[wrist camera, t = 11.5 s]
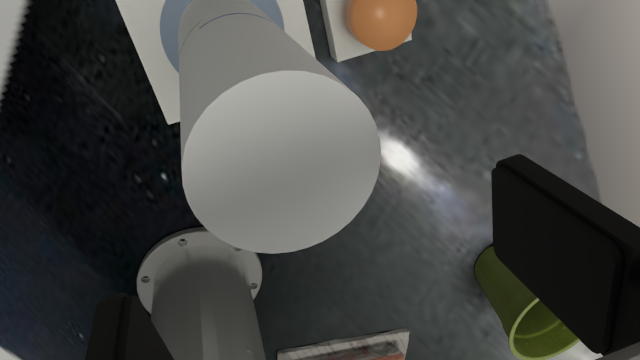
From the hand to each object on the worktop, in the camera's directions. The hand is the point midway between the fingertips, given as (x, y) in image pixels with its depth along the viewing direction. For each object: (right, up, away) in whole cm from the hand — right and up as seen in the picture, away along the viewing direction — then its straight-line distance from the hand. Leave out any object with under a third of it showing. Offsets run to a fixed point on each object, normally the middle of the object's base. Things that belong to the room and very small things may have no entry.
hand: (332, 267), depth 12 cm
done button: (+4, +16, +25) cm, 30 cm away
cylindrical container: (-8, +14, +26) cm, 31 cm away
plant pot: (+23, -8, +49) cm, 54 cm away
